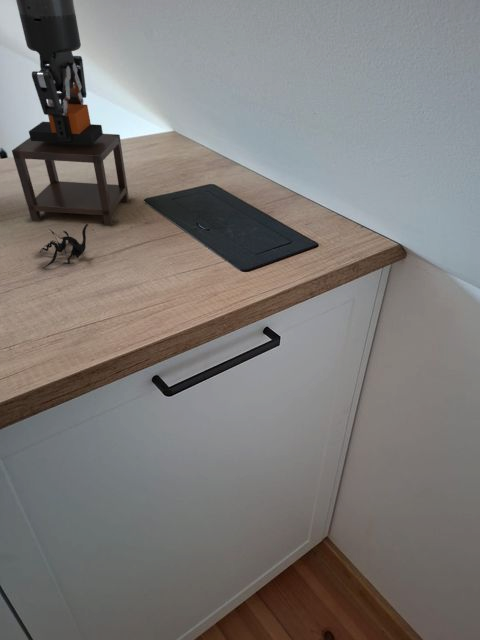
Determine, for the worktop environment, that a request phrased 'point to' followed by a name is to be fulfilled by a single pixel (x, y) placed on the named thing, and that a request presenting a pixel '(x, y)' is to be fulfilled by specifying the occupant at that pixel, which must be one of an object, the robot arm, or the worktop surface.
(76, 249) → the creature
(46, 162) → the rack
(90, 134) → the orange cube on base
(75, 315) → the worktop surface
